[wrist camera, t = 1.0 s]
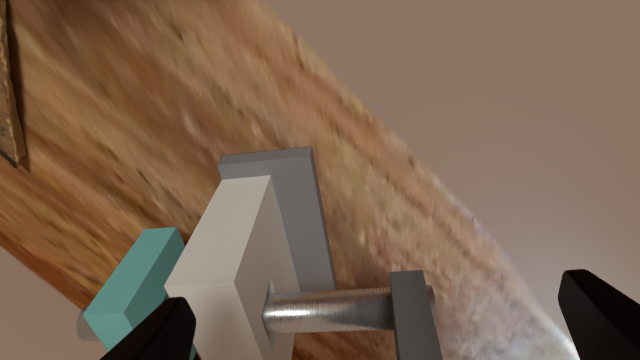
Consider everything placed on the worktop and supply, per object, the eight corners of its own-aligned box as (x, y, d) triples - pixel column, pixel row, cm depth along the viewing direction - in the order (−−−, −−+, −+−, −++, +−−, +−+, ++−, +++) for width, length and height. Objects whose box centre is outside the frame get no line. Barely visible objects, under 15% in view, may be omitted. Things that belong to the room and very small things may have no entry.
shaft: (118, 334, 23) (39, 467, 17) (80, 276, 21) (-29, 409, 15) (429, 322, 21) (461, 472, 15) (429, 254, 18) (468, 403, 12)
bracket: (266, 291, 29) (235, 424, 21) (223, 155, 23) (154, 268, 15) (337, 288, 28) (332, 423, 20) (311, 146, 22) (290, 259, 14)
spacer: (184, 309, 26) (143, 400, 20) (144, 229, 22) (82, 315, 17) (212, 308, 25) (177, 400, 20) (176, 227, 22) (123, 313, 17)
